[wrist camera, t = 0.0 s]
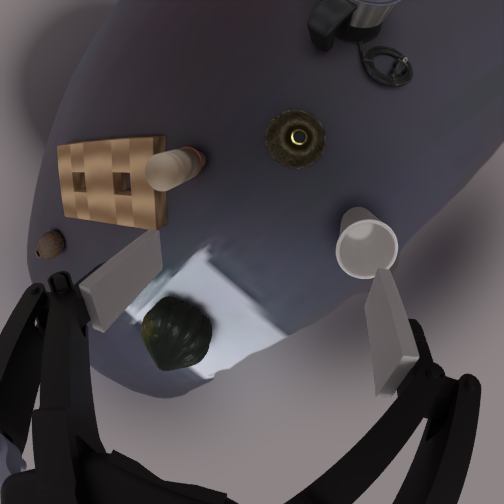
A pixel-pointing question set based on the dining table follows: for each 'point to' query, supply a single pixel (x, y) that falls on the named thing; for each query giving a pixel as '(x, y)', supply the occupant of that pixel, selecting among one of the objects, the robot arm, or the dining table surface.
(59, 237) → the vase
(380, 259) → the dixie cup
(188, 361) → the squash
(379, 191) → the dining table surface
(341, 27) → the milk frother
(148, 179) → the beech peg
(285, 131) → the wire cup brush
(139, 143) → the oak board
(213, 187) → the dining table surface
